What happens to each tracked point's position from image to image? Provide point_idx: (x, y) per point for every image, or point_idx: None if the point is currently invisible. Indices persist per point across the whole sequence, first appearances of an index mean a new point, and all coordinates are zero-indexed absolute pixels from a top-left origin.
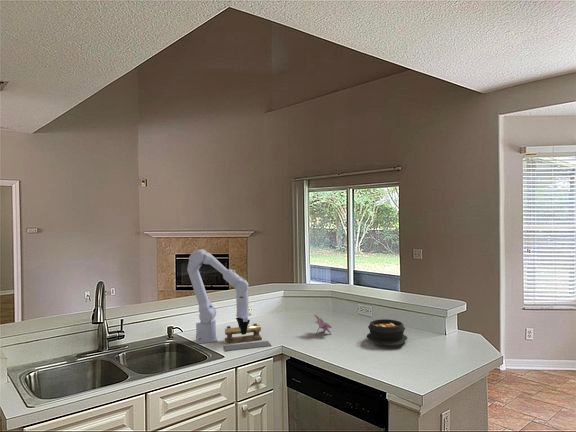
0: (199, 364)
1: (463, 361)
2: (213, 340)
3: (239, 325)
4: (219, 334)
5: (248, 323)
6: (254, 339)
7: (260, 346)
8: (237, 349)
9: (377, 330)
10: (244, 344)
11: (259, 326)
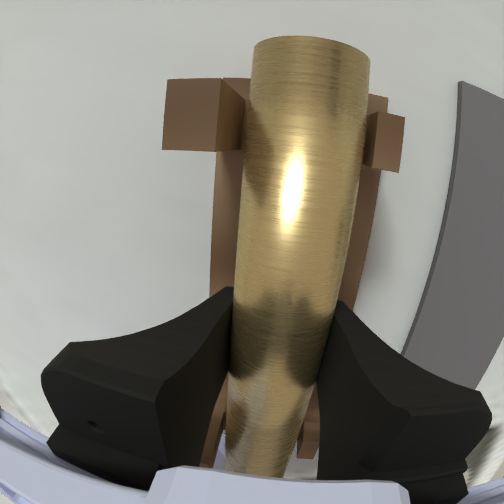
0: (477, 478)
1: None
2: (223, 451)
3: (212, 406)
4: None
5: (445, 382)
6: (375, 186)
7: None
8: (481, 374)
9: None
10: (443, 319)
11: (357, 70)
